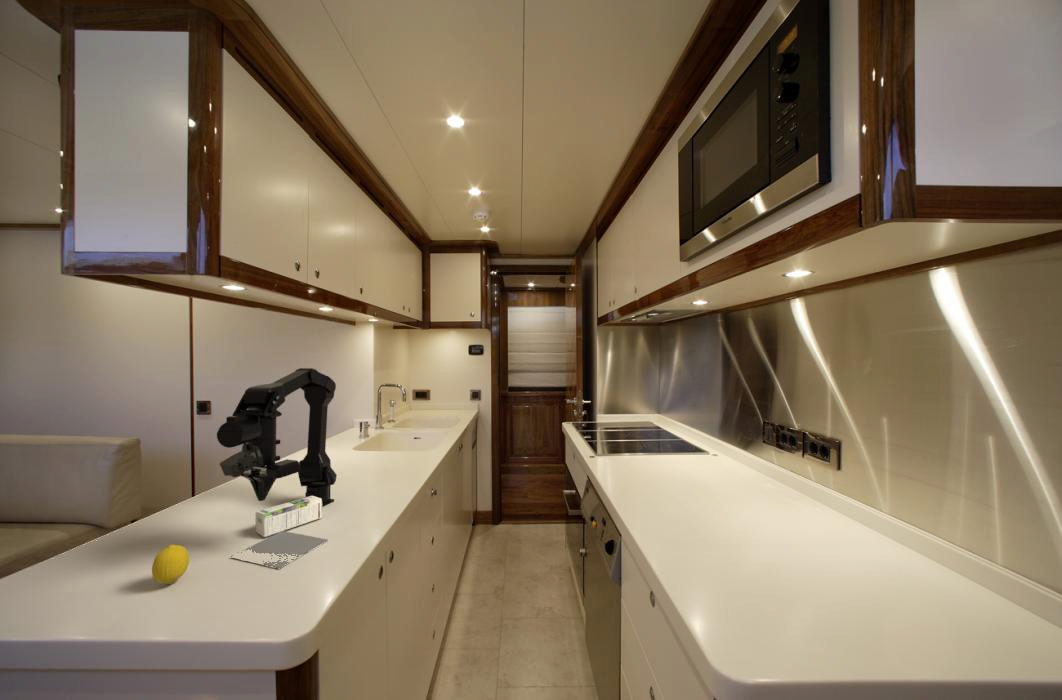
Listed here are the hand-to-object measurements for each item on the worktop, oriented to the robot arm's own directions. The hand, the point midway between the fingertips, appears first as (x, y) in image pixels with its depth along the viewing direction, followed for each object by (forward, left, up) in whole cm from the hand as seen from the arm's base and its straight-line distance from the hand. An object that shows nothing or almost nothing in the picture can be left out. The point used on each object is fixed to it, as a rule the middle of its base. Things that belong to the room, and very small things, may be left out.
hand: (261, 500), depth 92 cm
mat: (0, +6, -11) cm, 13 cm away
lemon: (+17, -3, -11) cm, 21 cm away
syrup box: (-3, -5, -8) cm, 10 cm away
